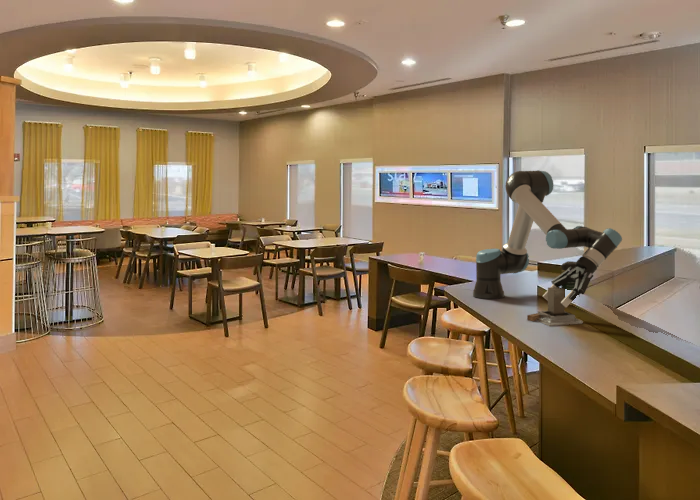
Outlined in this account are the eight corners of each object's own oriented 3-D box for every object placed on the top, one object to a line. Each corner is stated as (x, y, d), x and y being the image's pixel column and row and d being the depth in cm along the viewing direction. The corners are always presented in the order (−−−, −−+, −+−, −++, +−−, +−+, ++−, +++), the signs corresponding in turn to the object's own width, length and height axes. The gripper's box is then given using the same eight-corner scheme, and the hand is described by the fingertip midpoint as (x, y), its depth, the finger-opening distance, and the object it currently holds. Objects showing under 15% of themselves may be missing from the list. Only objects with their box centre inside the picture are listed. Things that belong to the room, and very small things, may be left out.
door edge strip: (527, 320, 204) (527, 315, 204) (553, 314, 212) (553, 309, 212) (532, 321, 202) (532, 316, 201) (558, 315, 210) (558, 310, 209)
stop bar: (547, 317, 203) (547, 287, 202) (558, 316, 204) (558, 286, 203) (553, 319, 199) (553, 289, 198) (564, 319, 200) (564, 288, 198)
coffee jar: (579, 303, 231) (580, 263, 229) (560, 302, 234) (561, 262, 232) (579, 299, 239) (580, 260, 238) (561, 298, 243) (561, 260, 241)
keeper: (530, 317, 207) (530, 310, 207) (562, 315, 209) (562, 308, 209) (548, 326, 194) (548, 318, 193) (582, 323, 196) (582, 315, 195)
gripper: (616, 272, 189) (578, 314, 189) (577, 264, 214) (544, 301, 213) (603, 259, 188) (565, 301, 188) (565, 252, 213) (532, 289, 212)
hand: (553, 301), depth 200 cm, fingers open, 13 cm apart
